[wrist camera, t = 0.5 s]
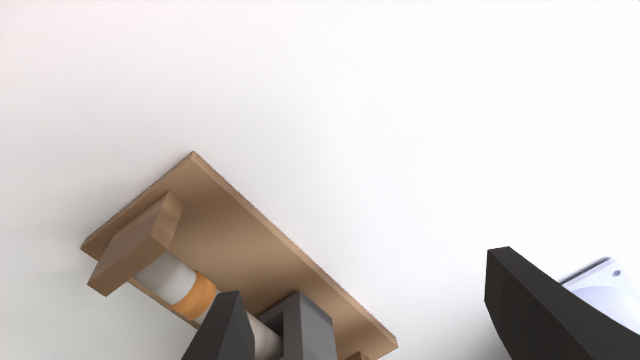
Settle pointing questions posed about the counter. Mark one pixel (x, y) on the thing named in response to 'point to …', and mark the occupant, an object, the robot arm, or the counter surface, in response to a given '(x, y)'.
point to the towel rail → (221, 261)
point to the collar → (302, 329)
